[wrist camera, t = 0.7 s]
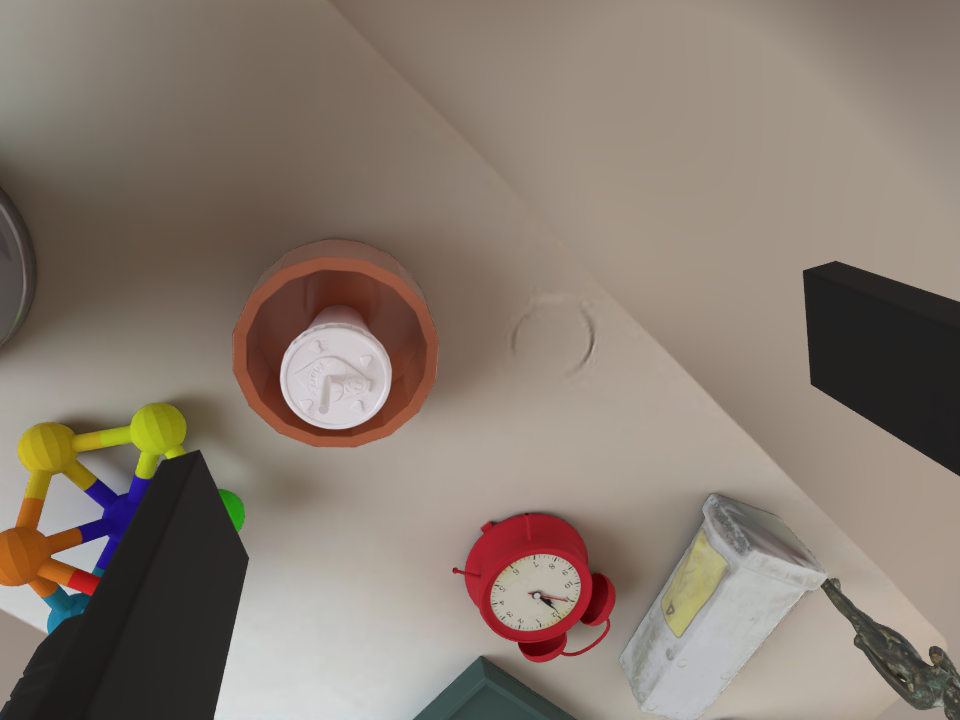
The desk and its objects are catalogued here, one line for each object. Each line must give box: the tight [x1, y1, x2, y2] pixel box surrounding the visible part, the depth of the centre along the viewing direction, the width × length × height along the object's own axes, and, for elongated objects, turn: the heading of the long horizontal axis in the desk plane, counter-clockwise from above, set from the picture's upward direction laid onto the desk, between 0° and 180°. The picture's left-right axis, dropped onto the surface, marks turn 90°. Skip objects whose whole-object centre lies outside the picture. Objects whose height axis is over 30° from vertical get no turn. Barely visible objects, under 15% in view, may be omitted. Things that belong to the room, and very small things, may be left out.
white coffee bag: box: [619, 494, 829, 720], centre depth 59 cm, size 19×8×8 cm, turn 153°
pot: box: [233, 239, 439, 447], centre depth 47 cm, size 13×13×6 cm
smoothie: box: [280, 305, 392, 429], centre depth 43 cm, size 6×6×14 cm
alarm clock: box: [453, 513, 616, 662], centre depth 58 cm, size 10×6×15 cm
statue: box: [821, 578, 960, 720], centre depth 55 cm, size 5×6×20 cm
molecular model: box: [0, 403, 245, 634], centre depth 47 cm, size 15×10×15 cm
